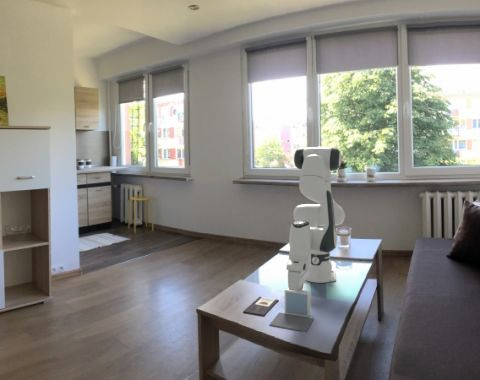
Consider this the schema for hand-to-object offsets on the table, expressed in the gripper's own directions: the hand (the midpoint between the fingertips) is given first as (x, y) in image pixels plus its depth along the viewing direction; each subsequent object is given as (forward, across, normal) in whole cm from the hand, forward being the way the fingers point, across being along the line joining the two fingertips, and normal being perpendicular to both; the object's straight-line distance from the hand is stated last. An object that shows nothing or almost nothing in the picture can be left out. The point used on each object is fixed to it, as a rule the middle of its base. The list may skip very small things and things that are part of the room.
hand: (299, 294), depth 155 cm
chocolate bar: (+8, +1, -16) cm, 18 cm away
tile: (+7, +2, 0) cm, 8 cm away
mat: (+7, +10, 0) cm, 13 cm away
